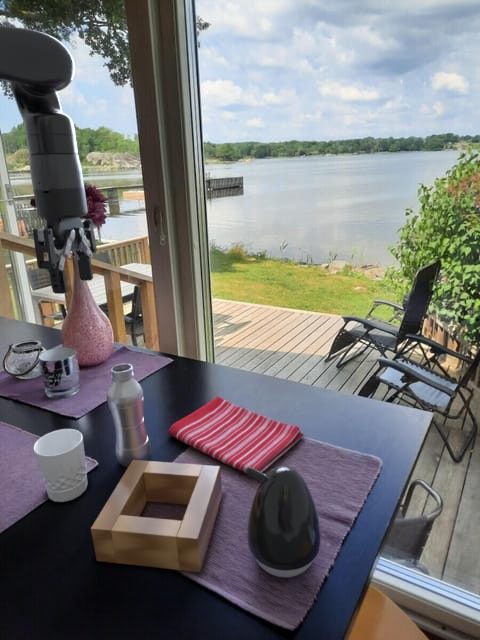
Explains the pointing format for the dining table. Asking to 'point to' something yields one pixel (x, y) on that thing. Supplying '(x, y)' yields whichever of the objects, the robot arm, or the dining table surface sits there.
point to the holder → (152, 533)
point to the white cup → (62, 464)
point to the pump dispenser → (283, 522)
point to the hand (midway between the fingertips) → (74, 286)
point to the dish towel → (236, 435)
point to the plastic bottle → (128, 416)
